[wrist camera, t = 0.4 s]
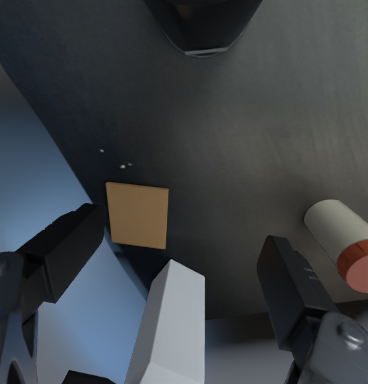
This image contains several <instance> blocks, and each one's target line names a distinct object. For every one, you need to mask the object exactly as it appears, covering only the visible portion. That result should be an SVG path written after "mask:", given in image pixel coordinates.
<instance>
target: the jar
mask: <svg viewBox="0 0 368 384" xmlns="http://www.w3.org/2000/svg"><path fill="white" fill-rule="evenodd" d="M304 223H305V225H306V227H307V228H308V229H309V231H310V232H311V233H312V235H313V236H314V237H315V239H316V240H317V241H318V243H319V244H320V246H321V247H322V248H323V250H324V251H325V252H326V254H327V255H328V256H329V258H330V259H331V260H332V262H333V263H334V264H335V266H336V267H337V263H336V262H337V260H338V258H339V256H340V254H341V253H342V252H343V251H344V250H345V249H347V248H348V247H349V246H351V245H353V244H355V243H357V242H360V241H363V240H368V223H367V222H366V221H365V220H364V219H362V218H361V217H360V216H359V215H357V214H356V213H355V212H354V211H352V210H351V209H350V208H349V207H348V206H346V205H345V204H344V203H342V202H341V201H338V200H332V199H329V200H323V201H320V202H318V203H316V204H314V205H313V206H311V207H310V208H309V209H308V211H307V212H306V214H305V217H304Z"/></svg>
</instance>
